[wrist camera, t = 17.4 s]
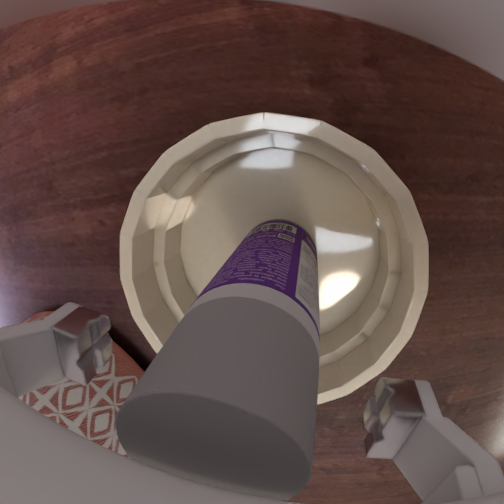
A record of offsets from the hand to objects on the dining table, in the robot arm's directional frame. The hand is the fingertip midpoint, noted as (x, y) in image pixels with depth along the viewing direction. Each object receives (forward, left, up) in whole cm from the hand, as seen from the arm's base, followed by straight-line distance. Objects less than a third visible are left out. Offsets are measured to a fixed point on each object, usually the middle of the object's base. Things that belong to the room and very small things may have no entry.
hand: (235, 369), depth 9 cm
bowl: (0, 0, -13) cm, 13 cm away
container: (0, 0, -12) cm, 12 cm away
